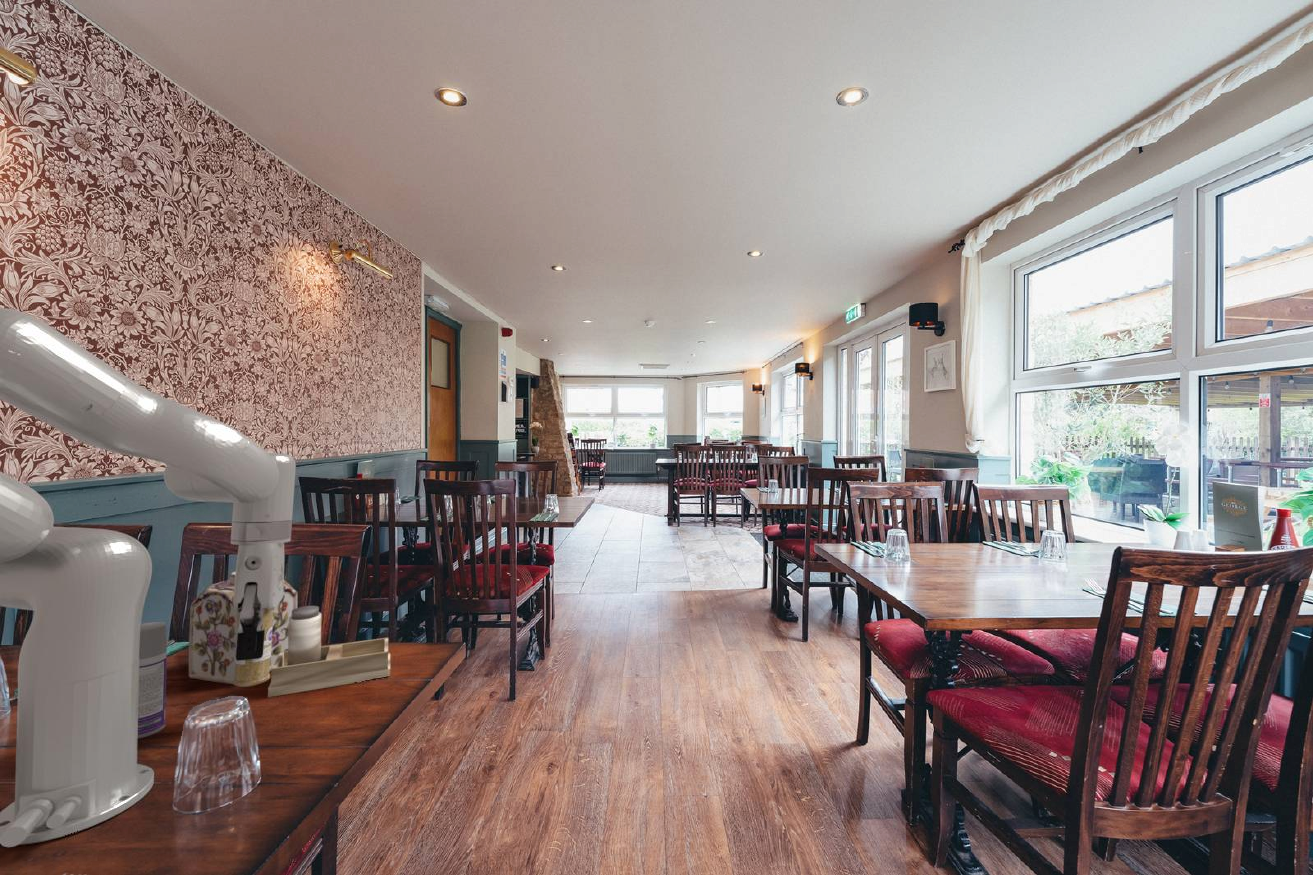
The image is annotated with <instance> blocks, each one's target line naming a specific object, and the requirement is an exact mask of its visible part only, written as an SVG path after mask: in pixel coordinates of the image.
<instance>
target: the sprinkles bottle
mask: <svg viewBox="0 0 1313 875" xmlns="http://www.w3.org/2000/svg"><path fill="white" fill-rule="evenodd" d="M239 605H242V601H241V603H240V604H239ZM260 608H261V605H258V606H255V607H254V610H259V609H260ZM240 613H241V612H239V621H240ZM258 615H259V614H254V616H257V618H258ZM272 621H273V609H272V610H268V608H265V612H264V620H263V628H262V630H265V635H264V649H263V656H262V657H261V658H259V659H250V660H240V661H237V660H236V657H235V663H236V668H235V679H234V681H233V684H232V685H234V686H235V687H238V688H239V687H240V688H241V687H253V686H257V685H259V684H262V683H265V682H266V681H269V679H271V674H270V672H269V669H270V668H269V666H270V657H271V645H272ZM238 629H239V624H238V628H237V635H238ZM236 649H237V643H236Z"/></svg>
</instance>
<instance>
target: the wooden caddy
mask: <svg viewBox="0 0 1313 875" xmlns="http://www.w3.org/2000/svg"><path fill="white" fill-rule="evenodd" d="M270 673H271V674H270V679H271V681H270V683H269V686H268V687H267V690H268V691H267V698H272V697H278V696H283V695H290V694H296V693H302V692H309V691H313V690H320V689H325V688H332V687H339V686H344V685H349V684H355V683H354V682H357V683H363V682H362V681H364V682H366V681H365V680H370V679H373V678H381V677H386V676H390V677H391V653H390V652H389V637H382V638H381V637H380V638H376V639H375V638H374V639H367V640H359V641H353V642H352V641H351V642H345V643H336V644H329V645H324V646H322V612H320V606H317V605H305V606H298V607H297V608H296V609H293V610H292V616H291V617H289V632H288V651H284V652H280V654H279V656H278V658H277V660H276V662H275V664H274V666H273V667H272V671H270ZM370 681H371V680H370Z"/></svg>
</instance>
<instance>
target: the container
mask: <svg viewBox="0 0 1313 875" xmlns="http://www.w3.org/2000/svg"><path fill="white" fill-rule="evenodd" d="M167 638H168V637H167V623H166V622H164V621H151V622H144V623H141V628H140V647H139V695H138V737H137V740H138V739H142V738H146V737H149V736H151V735H154V734H156V733H159V732H160V731H161V730H163V729H164V728H165V727H166V706H167V704H166V703H167V702H166V701H167V664H168V663H167V662H168V660H167V659H168V658H167V656H168V654H167V653H168V652H167V650H168V647H167Z"/></svg>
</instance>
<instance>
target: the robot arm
mask: <svg viewBox="0 0 1313 875" xmlns="http://www.w3.org/2000/svg"><path fill="white" fill-rule="evenodd" d="M0 400H1V401H3V402H5V403H7V404H8V405H11V406H13V407H15V408H17V409H18V410H20V411H22V412H23V413H26V414H28V415H29V416H32V417H34V418H36V419H37V420H39V421H41V422H43V423H45V424H47V425H49V426H50V427H53V428H54V429H56V430H58V431H60V432H62V433H64V434H66V435H68V436H70V437H71V438H73V439H75V440H76V441H79V442H81V443H82V444H85V445H87V446H90V447H93V448H97V449H100V450H103V451H106V452H107V451H108V452H111V453H115V454H120V455H125V456H129V457H134V458H135V457H136V458H141V459H145V460H146V459H147V460H151V461H155V462H159V463H163V464H167V465H166V467H164V468H165V469H164V472H163V480H164V484H165V486H166V487H167V489H168V490H169V491H170V492H171V493H173V494H174V495H176V496H177V497H179V498H181V499H183V500H188V501H192V502H202V503H203V502H205V503H233V505H232V506H233V507H232V518H231V521H232V522H231V533H230V544H231V545H235V546H236V545H238V550H237V556H236V566H235V572H236V574H235V585H234V610H235V611H236V612H238V613H239V612H241V613H240V621H239V629H238V635H237V649H236V660H237V661H240V660H250V659H259V658H261V657H262V656H263V649H264V635H265V630H262V628H263V620H264V612H265V608H268V610H272V609H273V608H275V607H276V606H277V604H278V603H279V602H280V601H281V599H282V598H283V592H284V580H285V543H288V542H291V540H292V539H291V538H292V529H293V528H292V525H293V524H292V523H293V511H294V510H293V509H294V496H295V485H296V484H295V481H296V468H297V467H296V466H297V464H296V460H295V458H294V457H293V456H292V455H289V454H286V453H278V452H276V453H275V452H268V451H266V449H264V447H262V446H260V445H259V444H258V443H256V442H255V441H253V440H252V439H250V438H249V437H248V436H246V435H244V433H242V432H241V431H239V430H237V429H235V428H234V427H232V426H230V425H228V424H226V423H225V422H222V421H220V420H218V419H216V418H214V417H212V416H210V415H207V414H204V413H202V412H199V411H197V410H195V409H193V408H190V407H189V406H188V407H187V406H186V405H183V404H181V403H179V402H177V401H174V400H172V399H170V398H167V397H164V396H162V395H159V394H156V393H155V392H152V391H150V390H148V389H147V388H145V387H144V386H141V385H140V384H138V383H137V382H136V381H133V380H132V379H131V378H129V377H128V376H126V375H124V374H123V373H121V372H120V371H118V370H117V369H115V367H114V368H113V367H112V366H111V365H110V364H108V363H106V362H105V361H103V360H102V359H101V358H99V357H97V356H96V355H95V354H93V353H91V352H90V351H88V349H85V348H84V347H83V346H81V345H80V344H78V343H76V342H75V341H74V340H72V339H71V338H69V337H68V336H66V335H65V334H63V333H61V332H60V331H58V330H57V329H55V328H54V327H53V326H51V325H50V324H47V323H46V322H44V321H42V320H41V319H38V318H37V317H35V316H33V315H30V314H28V313H26V312H24V311H19V310H17V309H13V308H8V307H0ZM54 518H55V517H54V512H53V510H52V508H51V506H50V504H49V502H47V500H46V499H45V498H44V497H43V496H42V495H41V494H40V493H39V492H37V491H36V490H35V489H33V488H31V487H30V486H28V485H27V484H24V483H23V482H21V481H20V480H17V479H15V478H14V477H12V476H9V475H8V474H6V473H4V472H2V471H1V470H0V607H3V608H10V609H18V610H25V611H27V610H28V611H34V613H33V618H32V620H31V623H30V625H29V629H28V630H27V633H26V635H25V637H24V639H23V642H22V645H21V647H20V653H19V658H18V664H17V665H18V666H17V667H18V668H17V708H16V709H17V714H16V716H17V717H16V744H15V745H16V748H15V750H16V751H15V784H14V786H15V787H14V792H15V793H14V801H13V802H11V803H10V804H8V806H6V807H5V808H3V809H2V810H1V811H0V845H1V846H2V847H6V848H13V847H16V846H20V845H27V844H28V845H29V844H36V843H41V842H46V841H51V840H55V839H58V838H62V837H65V835H66V836H68V834H69V835H71V833H72V834H75V833H78V832H80V831H84V830H86V829H89V828H91V827H93V826H95V825H98V824H101V823H102V822H105V821H107V820H109V819H112V818H114V817H115V816H117V815H119V814H121V813H122V812H124V811H125V810H127V809H129V808H131V807H132V806H133V805H135V804H136V803H137V802H139V801H140V800H142V798H144V797H145V796H146V795H147V793H149V792H150V790H151V789H152V788H153V785H154V782H155V771H154V770H153V769H152V768H151V767H149V766H147V765H145V764H139V763H138V739H137V737H138V695H139V647H140V628H141V624H142V617H143V610H144V606H145V603H146V598H147V596H148V591H149V588H150V584H151V581H152V580H151V579H152V575H153V574H152V573H153V563H152V558H151V555H150V552H149V551H148V550H147V548H146V546H145V545H143V543H141V542H140V541H139V540H138V539H137V538H135V537H133V536H130V535H128V534H126V533H123V532H121V531H117V530H110V529H105V528H91V527H77V526H76V527H73V526H72V527H71V526H70V527H69V526H68V527H66V526H65V527H64V526H54V524H55V520H54ZM241 601H242V605H239V604H240V603H241ZM258 605H261V608H260V609H259V610H254V607H255V606H258ZM254 614H259V615H258V618H257V616H254ZM77 831H78V832H77ZM74 832H75V833H74Z"/></svg>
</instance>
